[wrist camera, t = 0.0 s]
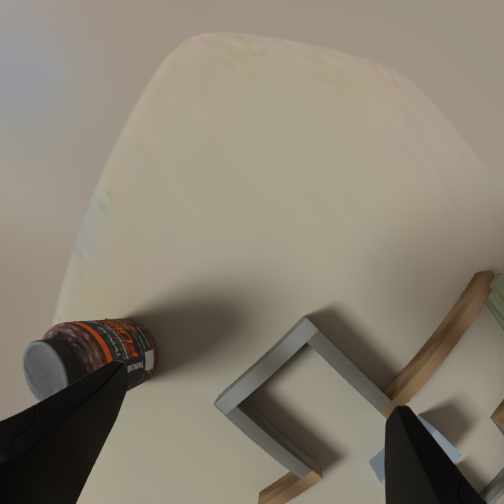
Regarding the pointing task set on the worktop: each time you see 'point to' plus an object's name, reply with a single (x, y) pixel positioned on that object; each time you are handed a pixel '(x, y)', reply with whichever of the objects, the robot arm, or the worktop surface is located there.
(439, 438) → the block
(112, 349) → the supplement bottle
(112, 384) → the robot arm
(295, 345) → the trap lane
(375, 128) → the worktop surface
